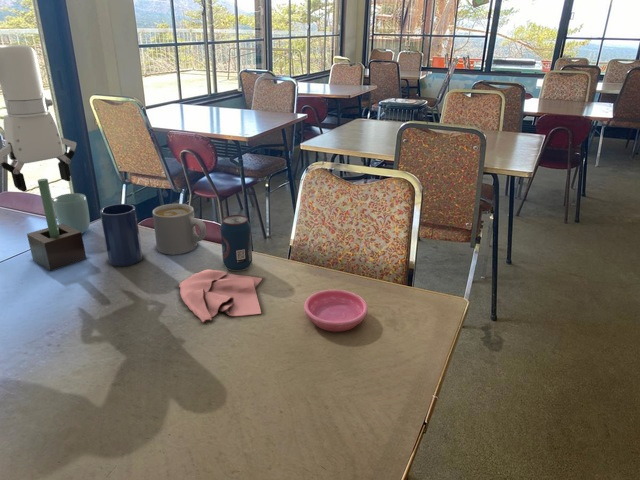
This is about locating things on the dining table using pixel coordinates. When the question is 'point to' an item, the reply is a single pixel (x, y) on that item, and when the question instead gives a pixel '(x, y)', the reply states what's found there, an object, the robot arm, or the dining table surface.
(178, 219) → the coffee mug
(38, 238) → the stand
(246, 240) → the soda can
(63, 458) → the dining table surface
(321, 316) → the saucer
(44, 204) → the brush
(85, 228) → the cup
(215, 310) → the cloth
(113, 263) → the tumbler
